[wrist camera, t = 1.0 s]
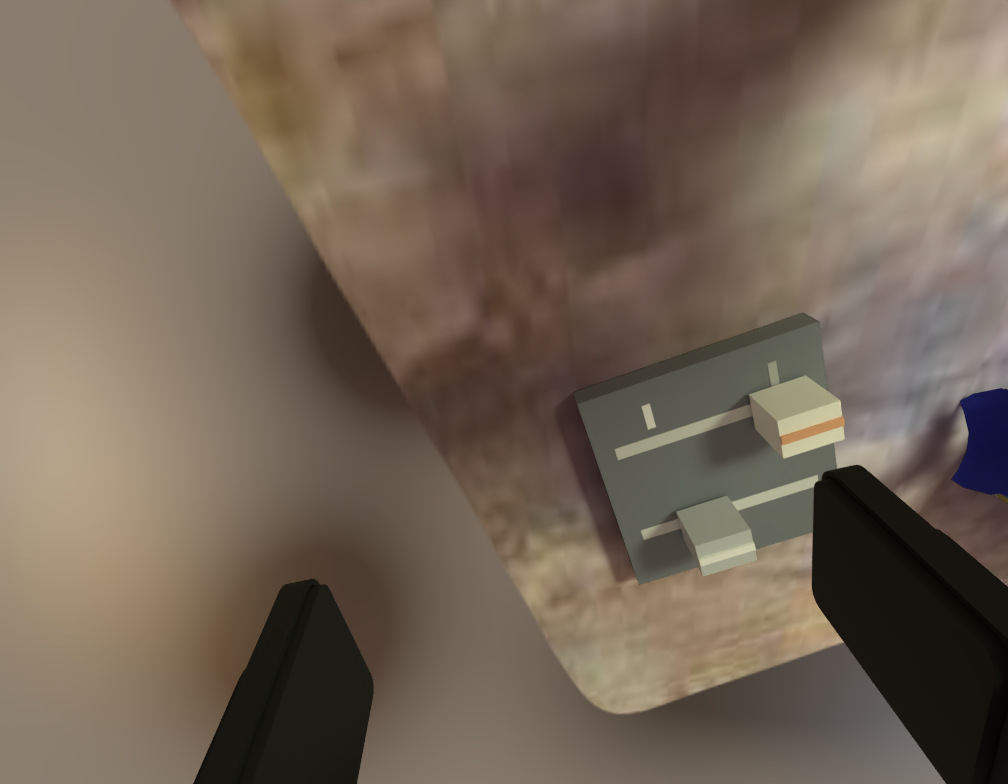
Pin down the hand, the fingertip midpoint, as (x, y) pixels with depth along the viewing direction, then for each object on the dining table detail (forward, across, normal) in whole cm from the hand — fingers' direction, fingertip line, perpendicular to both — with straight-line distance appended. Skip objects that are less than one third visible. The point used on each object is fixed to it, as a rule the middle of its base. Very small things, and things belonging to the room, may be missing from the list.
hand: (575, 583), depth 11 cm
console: (+28, -12, +18) cm, 36 cm away
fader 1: (+26, -11, +22) cm, 36 cm away
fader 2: (+26, -17, +13) cm, 34 cm away
